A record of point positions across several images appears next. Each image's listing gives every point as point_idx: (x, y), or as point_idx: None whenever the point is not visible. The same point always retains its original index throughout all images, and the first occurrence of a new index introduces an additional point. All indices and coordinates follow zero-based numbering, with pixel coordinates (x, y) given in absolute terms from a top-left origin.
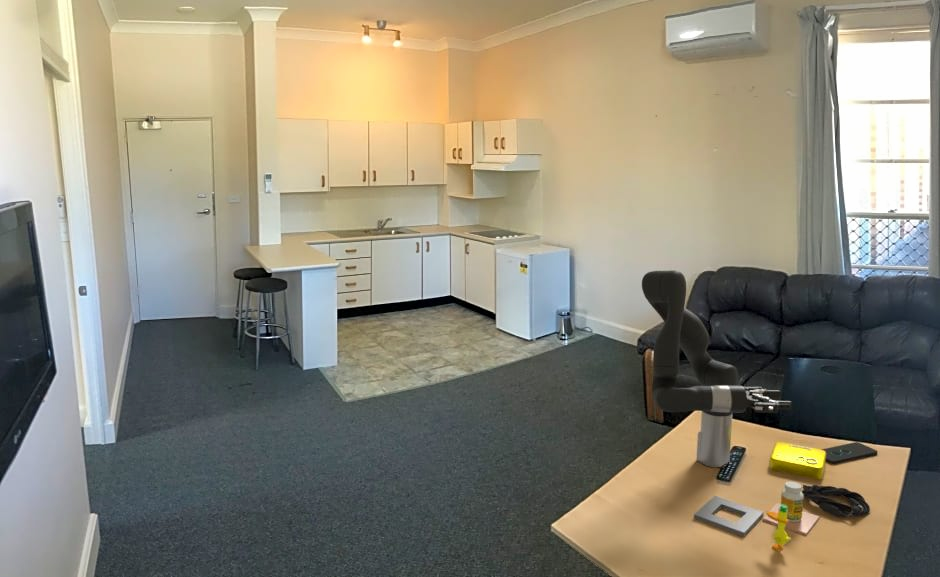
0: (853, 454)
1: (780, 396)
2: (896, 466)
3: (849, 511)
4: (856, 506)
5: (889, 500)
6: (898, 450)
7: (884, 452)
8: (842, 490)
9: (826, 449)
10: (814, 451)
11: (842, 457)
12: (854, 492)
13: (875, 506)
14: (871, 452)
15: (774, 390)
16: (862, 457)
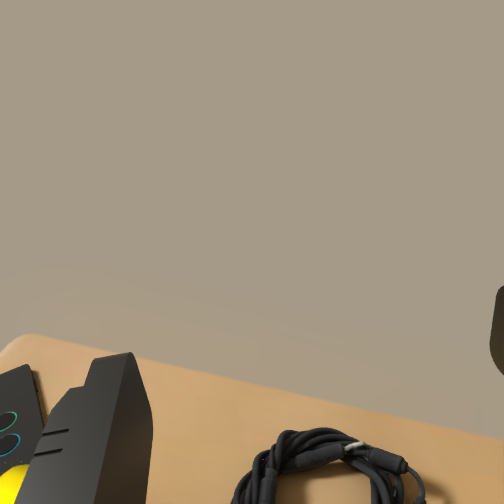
0: (25, 408)
1: (147, 402)
2: (95, 351)
3: (390, 481)
4: (379, 452)
5: (258, 388)
6: (27, 338)
7: (26, 358)
8: (273, 470)
9: None
10: (9, 498)
11: (33, 435)
12: (280, 441)
13: (298, 418)
14: (29, 374)
15: (86, 407)
16: (37, 396)
